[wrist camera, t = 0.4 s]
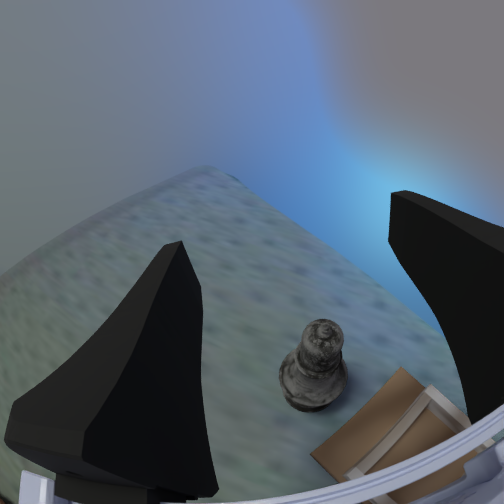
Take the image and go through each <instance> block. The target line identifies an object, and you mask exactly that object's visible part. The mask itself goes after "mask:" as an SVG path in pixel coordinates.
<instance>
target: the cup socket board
mask: <svg viewBox="0 0 504 504" xmlns="http://www.w3.org/2000/svg"><path fill="white" fill-rule="evenodd" d="M470 426H472V425H471V423H470V420H469V418H468V417H467V416H466V415H465V414H464V413H463V412H462V411H460V410H459V409H458V408H457V407H456V406H455V405H454V404H453V403H451V402H450V401H449V400H448V399H447V398H446V397H445V396H444V395H442V394H441V393H440V392H439V391H438V390H437V389H436V388H435V387H433V386H432V385H431V384H430V385H429V386H428V387H426V388H425V387H424V386H423V385H421V384H420V383H419V382H418V381H417V380H416V379H415V378H414V377H412V376H411V375H410V374H409V373H408V372H407V371H406V370H404V369H403V368H402V367H400V368H399V369H398V370H397V371H396V373H395V374H394V375H393V376H392V377H391V378H390V379H389V380H388V382H387V383H386V384H385V385H384V386H383V387H382V388H381V389H380V390H379V391H378V392H377V393H376V394H375V395H374V396H373V397H372V398H371V400H370V401H369V402H368V403H367V404H366V405H365V406H364V407H363V408H362V409H360V410H359V411H358V412H357V413H356V414H355V415H354V416H353V417H352V418H351V419H350V420H349V421H348V422H347V423H346V424H345V425H343V426H342V427H341V428H340V429H339V430H338V431H337V432H336V433H335V434H333V435H332V436H331V437H330V438H329V439H328V440H326V441H325V442H324V443H323V444H322V445H320V446H319V447H318V448H317V449H316V450H314V451H313V452H312V453H311V454H310V455H311V456H312V457H313V458H314V459H315V460H316V461H317V462H318V463H319V464H320V465H321V466H322V467H323V468H324V469H325V470H326V471H327V472H328V473H329V474H330V475H331V476H332V477H333V478H334V479H335V480H336V481H337V482H338V483H343V482H346V481H350V480H353V479H356V478H359V477H362V476H365V475H368V474H371V473H374V472H377V471H380V470H382V469H385V468H387V467H390V466H392V465H395V464H397V463H400V462H402V461H405V460H407V459H409V458H411V457H414V456H416V455H418V454H420V453H422V452H424V451H426V450H428V449H430V448H432V447H434V446H436V445H438V444H440V443H442V442H444V441H446V440H448V439H450V438H451V437H453V436H455V435H457V434H458V433H460V432H462V431H464V430H465V429H467V428H469V427H470ZM494 443H496V442H495V441H494V440H492V439H491V438H490V439H488V440H487V441H485V442H484V443H483V444H481V445H480V446H478V447H476V448H475V449H473V450H472V451H470V452H469V453H467V454H465V455H464V456H462V457H460V458H459V459H457V460H455V461H454V462H452V463H450V464H448V465H446V466H445V467H443V468H441V469H439V470H437V471H435V472H433V473H431V474H429V475H427V476H425V477H423V478H421V479H419V480H417V481H415V482H412V483H410V484H408V485H406V486H403V487H401V488H398V489H396V490H394V491H391V492H388V493H386V494H383V495H381V496H378V497H375V498H372V499H369V500H366V501H363V502H360V503H361V504H408V503H410V502H413V501H415V500H417V499H420V498H422V497H424V496H426V495H428V494H430V493H432V492H435V491H437V490H439V489H441V488H443V487H444V486H446V485H448V484H450V483H452V482H454V481H456V480H457V479H459V478H461V477H463V476H464V475H466V473H465V470H464V468H463V465H464V463H466V462H467V461H469V460H470V459H472V458H473V457H475V456H476V455H477V454H479V453H480V452H482V451H483V450H485V449H486V448H488V447H490V446H491V445H493V444H494Z"/></svg>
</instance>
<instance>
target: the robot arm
mask: <svg viewBox="0 0 504 504" xmlns="http://www.w3.org/2000/svg"><path fill="white" fill-rule="evenodd" d="M390 206H391V207H390V223H389V237H388V242H389V244H390V246H391V248H392V250H393V252H394V253H395V255H396V257H397V259H398V261H399V262H400V264H401V266H402V267H403V268H404V270H405V271H406V273H407V274H408V275H409V277H410V278H411V280H412V281H413V283H414V284H415V286H416V287H417V288H418V290H419V291H420V293H421V294H422V296H423V297H424V299H425V300H426V302H427V303H428V305H429V306H430V308H431V309H432V311H433V313H434V314H435V316H436V318H437V320H438V322H439V324H440V326H441V329H442V331H443V333H444V335H445V337H446V340H447V342H448V345H449V347H450V350H451V352H452V355H453V358H454V361H455V364H456V367H457V370H458V373H459V377H460V380H461V384H462V388H463V392H464V397H465V402H466V407H467V414H468V418H469V420H470V423H471V425H472V426H470V427H469V428H467V429H465V430H464V431H462V432H460V433H458V434H457V435H455V436H453V437H451V438H450V439H448V440H446V441H444V442H442V443H440V444H438V445H436V446H434V447H432V448H430V449H428V450H426V451H424V452H422V453H420V454H418V455H416V456H414V457H411V458H409V459H407V460H405V461H402V462H400V463H397V464H395V465H392V466H390V467H387V468H385V469H382V470H380V471H377V472H374V473H371V474H368V475H365V476H362V477H359V478H356V479H353V480H350V481H346V482H343V483H339V484H336V485H332V486H328V487H324V488H320V489H316V490H312V491H307V492H302V493H297V494H292V495H287V496H281V497H274V498H267V499H260V500H251V501H240V502H226V503H186V500H198V498H206V497H212V496H214V495H215V494H216V493H217V491H218V490H219V487H218V483H217V479H216V475H215V471H214V466H213V462H212V457H211V452H210V446H209V441H208V435H207V428H206V421H205V414H204V406H203V396H202V386H201V350H202V326H203V305H202V293H201V286H200V283H199V281H198V279H197V276H196V274H195V272H194V269H193V267H192V264H191V262H190V260H189V257H188V255H187V252H186V250H185V248H184V245H183V243H182V241H178V242H174V243H170V244H166V245H164V246H163V247H162V248H161V250H160V251H159V252H158V253H157V255H156V256H155V257H154V259H153V260H152V261H151V263H150V264H149V266H148V267H147V268H146V270H145V271H144V272H143V274H142V275H141V277H140V278H139V279H138V281H137V282H136V283H135V285H134V286H133V287H132V289H131V290H130V291H129V292H128V294H127V295H126V296H125V298H124V299H123V300H122V302H121V303H120V304H119V305H118V307H117V308H116V309H115V310H114V312H113V313H112V314H111V315H110V316H109V318H108V319H107V320H106V321H105V322H104V323H103V324H102V326H101V327H100V328H99V329H98V330H97V331H96V332H95V333H94V334H93V335H92V336H91V337H90V338H89V339H88V340H87V341H86V342H85V343H84V344H83V345H82V346H81V347H80V348H79V349H78V350H77V351H76V352H75V353H74V354H73V355H72V356H71V357H70V358H69V359H68V360H67V361H66V362H65V363H63V364H62V365H61V366H60V367H59V368H58V369H57V370H55V371H54V372H53V373H52V374H51V375H49V376H48V377H47V378H46V379H44V380H43V381H42V382H41V383H39V384H38V385H37V386H35V387H34V388H32V389H31V390H30V391H28V392H27V393H25V394H24V395H23V396H21V397H20V398H18V399H17V400H15V401H14V403H13V405H12V408H11V412H10V416H9V420H8V424H7V428H6V432H5V437H4V441H5V443H6V445H7V446H8V447H9V448H10V449H11V450H13V451H14V452H16V453H17V454H19V455H21V456H23V457H24V458H26V459H28V460H30V461H32V462H34V463H36V464H38V465H40V466H42V467H44V468H46V469H48V470H50V471H52V472H55V473H56V481H54V480H52V479H49V478H46V477H43V476H40V475H37V474H34V473H31V472H28V471H26V470H23V471H22V475H21V484H20V494H19V504H357V503H360V502H363V501H366V500H369V499H372V498H375V497H378V496H381V495H383V494H386V493H388V492H391V491H394V490H396V489H398V488H401V487H403V486H406V485H408V484H410V483H412V482H415V481H417V480H419V479H421V478H423V477H425V476H427V475H429V474H431V473H433V472H435V471H437V470H439V469H441V468H443V467H445V466H446V465H448V464H450V463H452V462H454V461H455V460H457V459H459V458H460V457H462V456H464V455H465V454H467V453H469V452H470V451H472V450H473V449H475V448H476V447H478V446H480V445H481V444H483V443H484V442H485V441H487V440H488V439H490V438H491V437H493V436H494V435H495V434H497V433H498V432H500V431H501V430H502V429H504V228H503V227H500V226H498V225H495V224H492V223H489V222H487V221H484V220H482V219H479V218H477V217H474V216H472V215H469V214H467V213H464V212H462V211H460V210H457V209H455V208H452V207H450V206H448V205H445V204H443V203H441V202H438V201H436V200H433V199H431V198H428V197H426V196H423V195H420V194H417V193H414V192H411V191H406V190H404V191H399V192H393V193H391V205H390ZM463 468H464V470H465V473H466V475H464V476H463V477H461V478H459V479H457V480H456V481H454V482H452V483H450V484H448V485H446V486H444V487H443V488H441V489H439V490H437V491H435V492H432V493H430V494H428V495H426V496H424V497H422V498H420V499H417V500H415V501H413V502H410V503H408V504H504V437H503V438H501V439H500V440H499V441H497V442H496V443H494V444H493V445H491V446H490V447H488V448H486V449H485V450H483V451H482V452H480V453H479V454H477V455H476V456H475V457H473V458H472V459H470V460H469V461H467V462H466V463H464V465H463Z"/></svg>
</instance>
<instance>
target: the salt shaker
mask: <svg viewBox="0 0 504 504" xmlns="http://www.w3.org/2000/svg"><path fill="white" fill-rule="evenodd" d="M343 342H344V338H343V332H342V329H341V328H340V327H339V325H337V324H336V323H335V322H333V321H331V320H328V319H318V320H315V321H313V322H311V323H310V324H309V325H307V327H306V328H305V330H304V331H303V334H302V339H301V342H300V343H299V345H298V346H297V348H296V349H294V350H293V351H292V352H290V353H289V354H288V355H287V356H286V358H285V359H284V360H283V362H282V364H281V367H280V371H279V380H280V385H281V387H282V389H283V394H284V397H285V399H286V401H287V402H288V403H289V404H290V405H291V406H292V407H293V408H295V409H297V410H299V411H302V412H317V411H320V410H322V409H324V408H326V407H327V406H328V405H330V404H331V403H332V401H333V400H335V399H336V398H337V397H338V396H339V395H340V394H341V393H342V391H343V389H344V388H345V386H346V382H347V378H348V374H347V367H346V364H345V362H344V360H343V359H342V351H341V349H342V346H343Z"/></svg>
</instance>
